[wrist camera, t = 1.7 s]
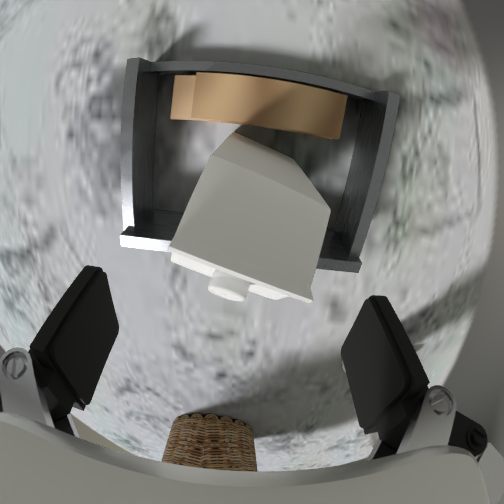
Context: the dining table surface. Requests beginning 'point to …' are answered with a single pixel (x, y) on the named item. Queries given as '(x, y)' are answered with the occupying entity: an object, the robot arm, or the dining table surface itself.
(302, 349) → the dining table surface
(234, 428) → the wicker basket
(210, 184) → the milk carton
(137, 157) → the dark grey tray
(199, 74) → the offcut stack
